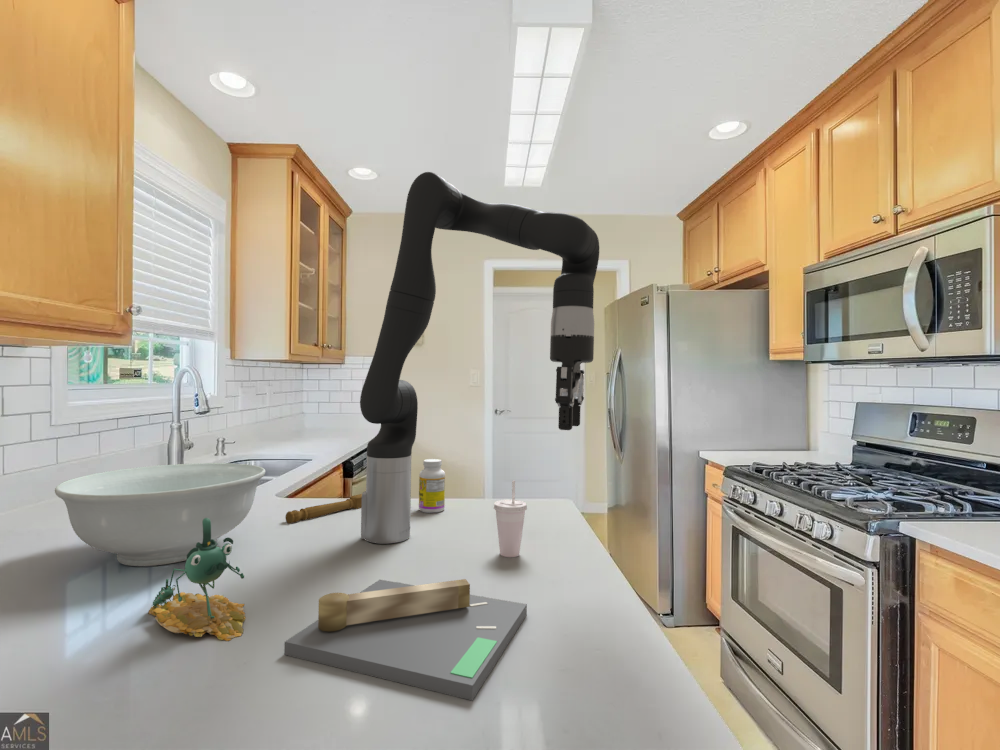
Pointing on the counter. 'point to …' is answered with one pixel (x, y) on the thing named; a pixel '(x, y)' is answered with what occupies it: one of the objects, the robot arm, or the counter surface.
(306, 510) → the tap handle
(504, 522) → the smoothie
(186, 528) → the bowl
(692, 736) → the counter surface
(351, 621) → the dial lever
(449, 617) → the dial plate
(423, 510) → the supplement bottle
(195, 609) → the green cartoon bug figurine
